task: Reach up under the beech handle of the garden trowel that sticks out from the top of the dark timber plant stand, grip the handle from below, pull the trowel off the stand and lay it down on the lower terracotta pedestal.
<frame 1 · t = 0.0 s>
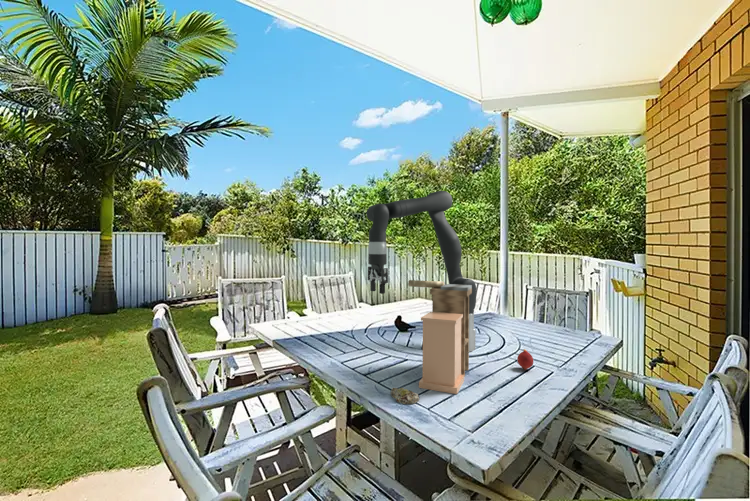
hand: (377, 292, 147), 29 cm above the table, tool pointing down, fingers open, 8 cm apart
mineral rock: (404, 399, 114), on the table
trowel: (443, 288, 139), point 32 cm above the table, touching plant stand
plant stand: (450, 371, 138), on the table
onion: (525, 370, 140), on the table
terracotta pedestal: (442, 383, 126), on the table
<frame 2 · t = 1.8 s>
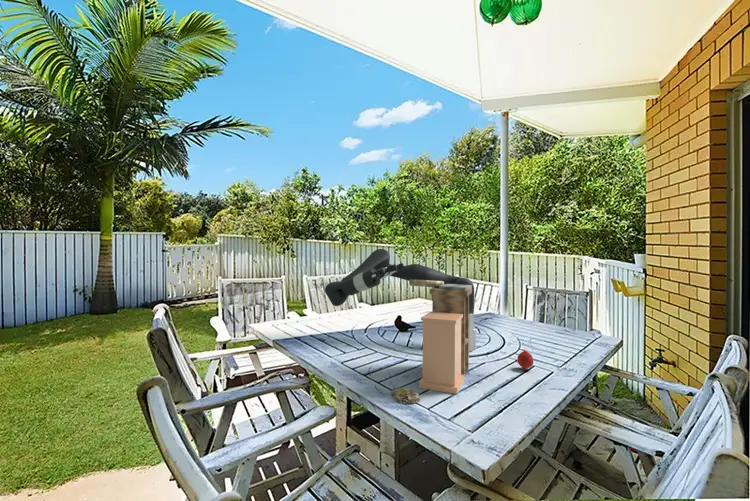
hand: (399, 265, 144), 40 cm above the table, tool pointing upward, fingers open, 8 cm apart
trowel: (443, 287, 140), point 32 cm above the table, touching plant stand
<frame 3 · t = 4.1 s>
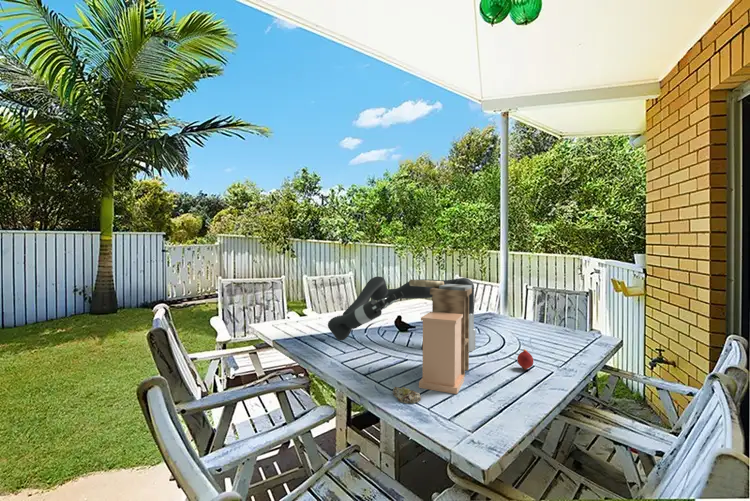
hand: (398, 295, 147), 28 cm above the table, tool pointing upward, fingers open, 8 cm apart
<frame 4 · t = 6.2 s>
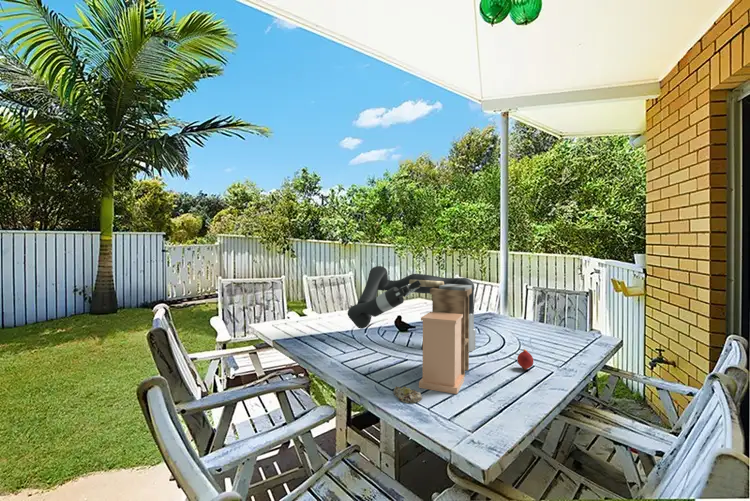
hand: (422, 281, 142), 34 cm above the table, tool pointing upward, fingers open, 7 cm apart
trowel: (443, 287, 140), point 32 cm above the table, touching gripper
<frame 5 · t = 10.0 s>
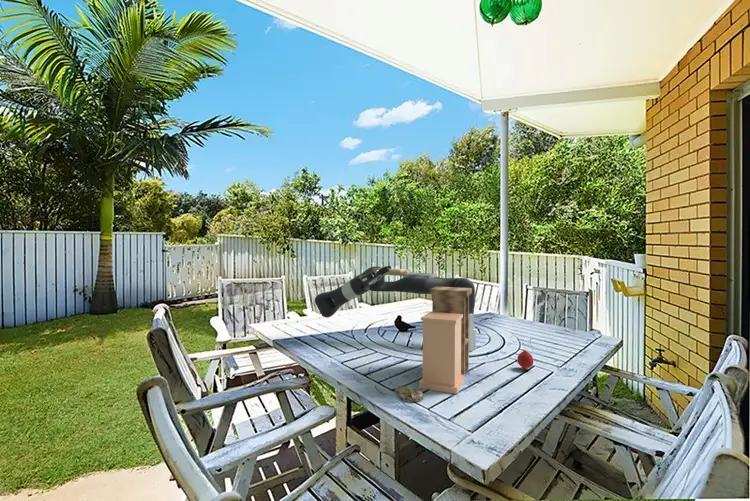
hand: (389, 268, 138), 40 cm above the table, tool pointing upward, fingers closed on trowel, 2 cm apart
trowel: (407, 276, 135), point 37 cm above the table, touching gripper
when the fingers open (27 cm above the table, at t = 13.4 s): trowel stays where it is, resting on terracotta pedestal.
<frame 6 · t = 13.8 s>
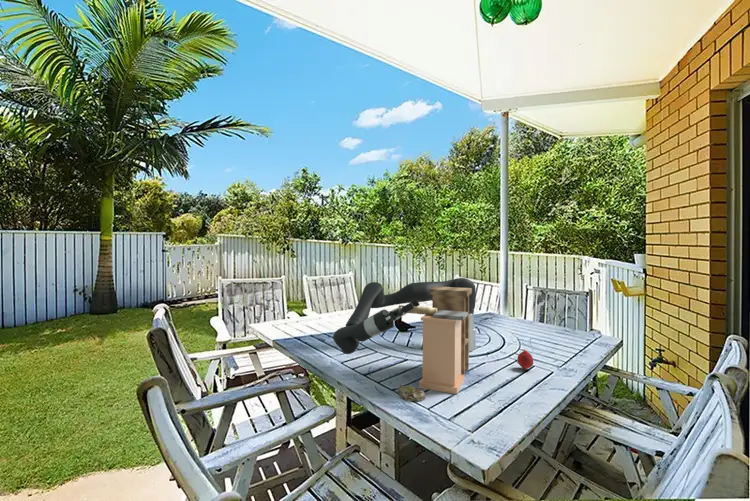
hand: (415, 303, 129), 28 cm above the table, tool pointing upward, fingers open, 6 cm apart
trowel: (436, 315, 126), point 24 cm above the table, touching terracotta pedestal
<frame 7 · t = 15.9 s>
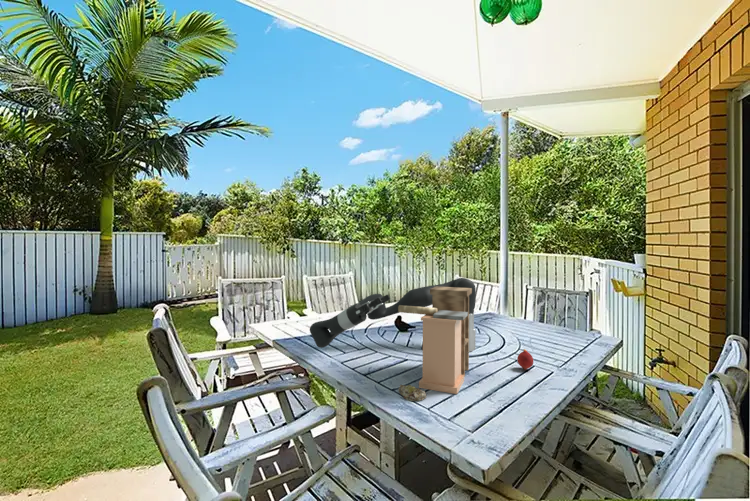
hand: (384, 298, 135), 29 cm above the table, tool pointing upward, fingers open, 8 cm apart
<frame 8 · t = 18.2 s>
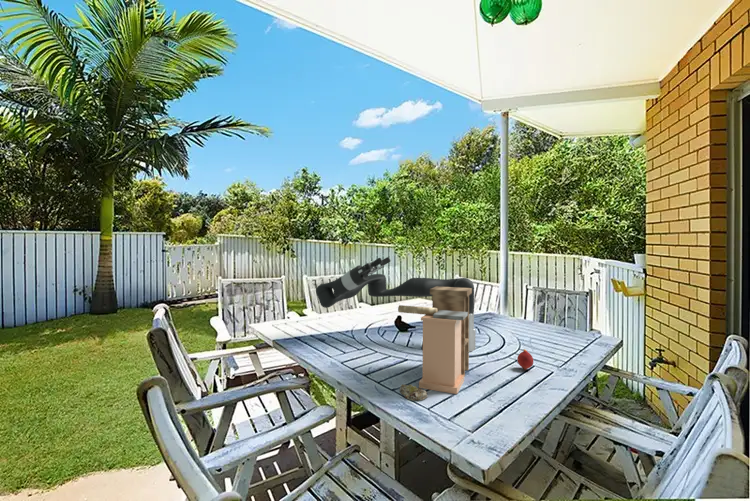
hand: (385, 259, 145), 43 cm above the table, tool pointing upward, fingers open, 8 cm apart
at the end: trowel inside the target area on the terracotta pedestal (0.2 cm from its centre), point 24.0 cm above the terracotta pedestal's base; trowel tilted 0°; the gripper is holding nothing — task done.
